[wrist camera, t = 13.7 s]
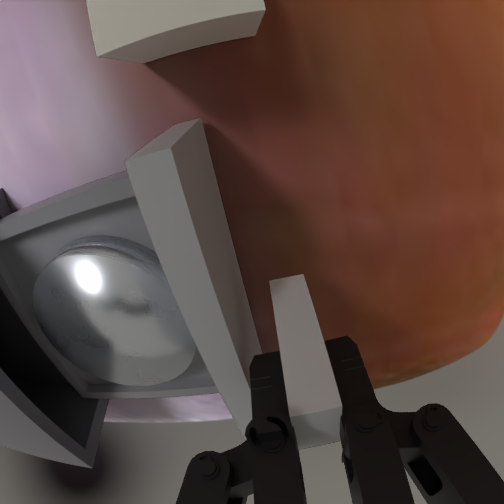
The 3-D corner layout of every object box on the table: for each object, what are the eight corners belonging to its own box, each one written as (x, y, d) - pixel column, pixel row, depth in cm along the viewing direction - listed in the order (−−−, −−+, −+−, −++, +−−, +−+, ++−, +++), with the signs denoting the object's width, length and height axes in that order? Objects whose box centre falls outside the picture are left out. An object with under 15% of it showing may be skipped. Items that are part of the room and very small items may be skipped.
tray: (-13, 199, 13) (-83, 257, 7) (201, 117, 12) (170, 147, 7) (99, 385, 22) (79, 453, 16) (267, 370, 21) (275, 454, 15)
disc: (163, 214, 13) (154, 233, 11) (219, 354, 17) (218, 378, 16) (22, 256, 14) (5, 274, 12) (94, 367, 18) (86, 387, 17)
